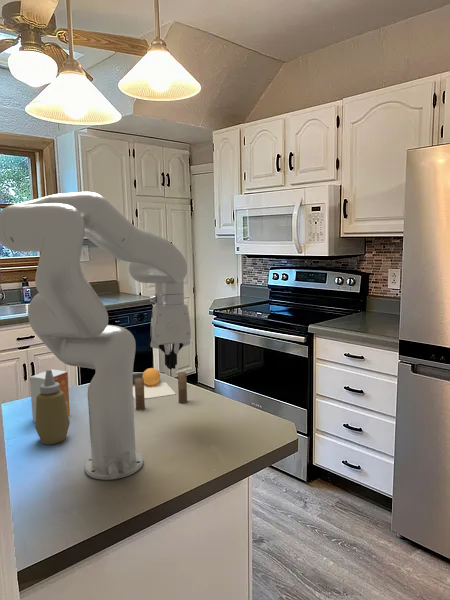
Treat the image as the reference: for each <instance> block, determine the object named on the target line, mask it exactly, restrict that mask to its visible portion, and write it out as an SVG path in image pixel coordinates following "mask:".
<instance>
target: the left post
mask: <svg viewBox="0 0 450 600" xmlns="http://www.w3.org/2000/svg"><path fill="white" fill-rule="evenodd" d="M144 385H145V383H144V379H143V378H136V379H135V385H134V387H135V399H136V400H135V399H134V400H135V410H136V411H143V410H145V407H146V405H145V400H146V399H144Z"/></svg>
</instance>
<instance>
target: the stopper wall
mask: <svg viewBox="0 0 450 600" xmlns="http://www.w3.org/2000/svg"><path fill="white" fill-rule="evenodd" d="M158 372H159V373H160V371H159V370H158ZM143 373H144V371H143V372H136V373H135V372H134V373H133V386H135V379H136V378H142V375H143Z"/></svg>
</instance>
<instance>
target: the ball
mask: <svg viewBox="0 0 450 600" xmlns="http://www.w3.org/2000/svg"><path fill="white" fill-rule="evenodd" d="M158 371H159V370H158V369H156V368H155V367H154V368H153V367H150V368H146V369H145V370H144V371H143V372H144V373H143V375H142V378H143V379H144V385H148V386H154V385H156V384H157V383H160V380H161V373H160V371H159V372H158Z"/></svg>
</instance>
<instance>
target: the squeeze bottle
mask: <svg viewBox="0 0 450 600" xmlns="http://www.w3.org/2000/svg"><path fill="white" fill-rule="evenodd" d="M40 392H41V393H39V394H38V395H37V397H36V422H35V430H36V433H37V435H38V437H39V439H40V442H41V443H42V444H45V445H54V444H57V443H61V442H63V441H64V440H66V438H67V435H68V433H69V432H68V431H69V427H70V424H71V423H70V422H71V421H70V417H69V416H68V411H67V405H66V400H65V394H64V392H63V391H61V390H60V384H59V383H58V382H55V380H54V377H53V374H52V371H51V369H47V370H46V376H45V382H44V384H42V385H40Z"/></svg>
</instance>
